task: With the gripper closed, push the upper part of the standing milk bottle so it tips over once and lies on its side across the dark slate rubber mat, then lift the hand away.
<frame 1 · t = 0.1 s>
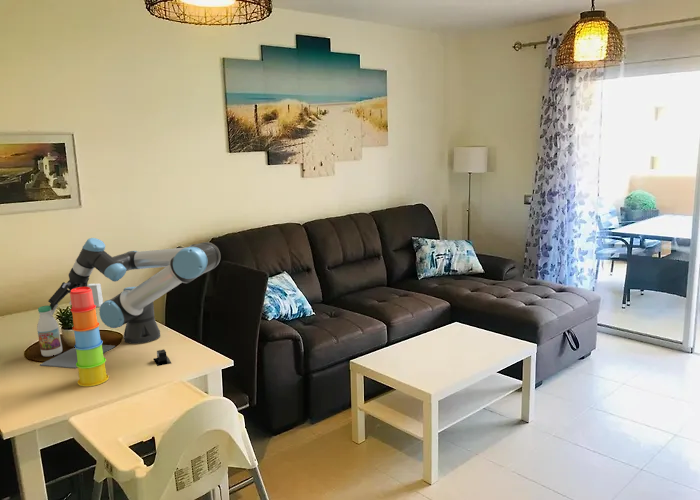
hand: (60, 309, 239), 15 cm above the table, tool tilted 35°, fingers open, 13 cm apart
skincare box: (96, 306, 301), on the table
milk bottle: (52, 353, 231), on the table
slate mat: (79, 355, 228), on the table
black block on base: (162, 362, 220), on the table
stacking cups: (93, 381, 202), on the table
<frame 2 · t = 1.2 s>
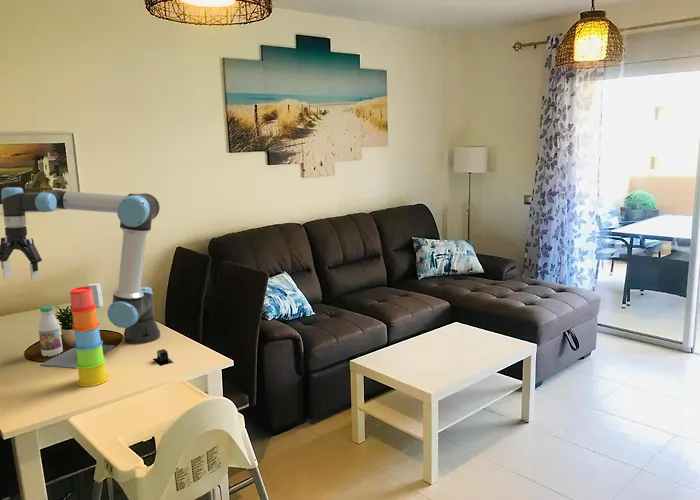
hand: (20, 278, 229), 31 cm above the table, tool pointing down, fingers open, 13 cm apart
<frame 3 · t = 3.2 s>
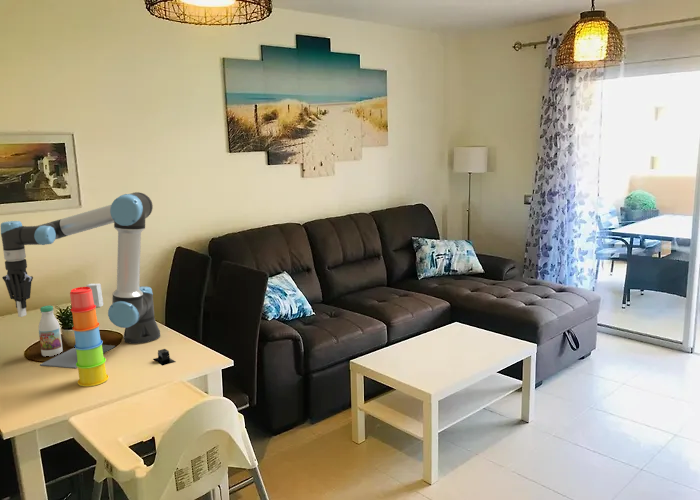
hand: (22, 315, 231), 16 cm above the table, tool pointing down, fingers closed
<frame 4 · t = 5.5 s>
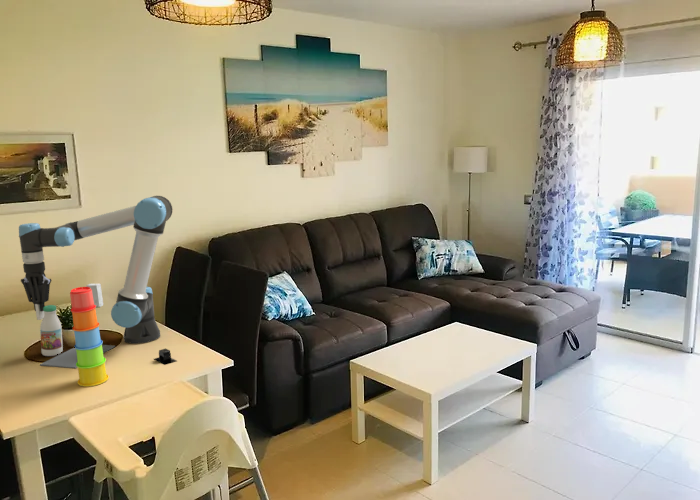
hand: (41, 318, 229), 15 cm above the table, tool pointing down, fingers closed
milk bottle: (52, 353, 231), on the table, touching gripper
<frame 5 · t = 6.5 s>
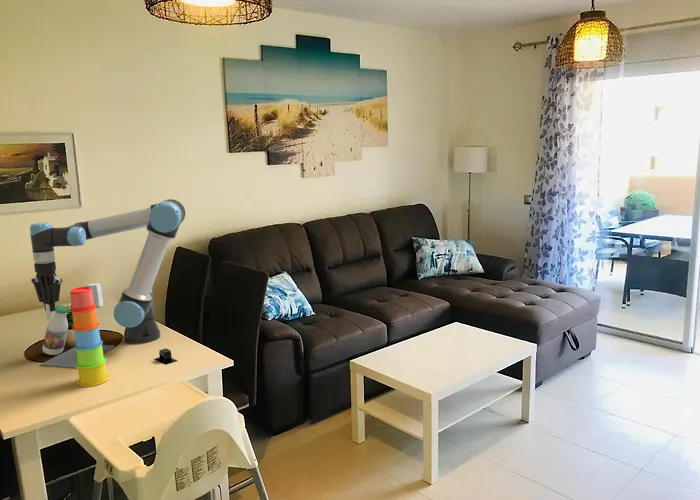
hand: (51, 318, 228), 15 cm above the table, tool pointing down, fingers closed
milk bottle: (52, 350, 231), point 1 cm above the table, touching gripper
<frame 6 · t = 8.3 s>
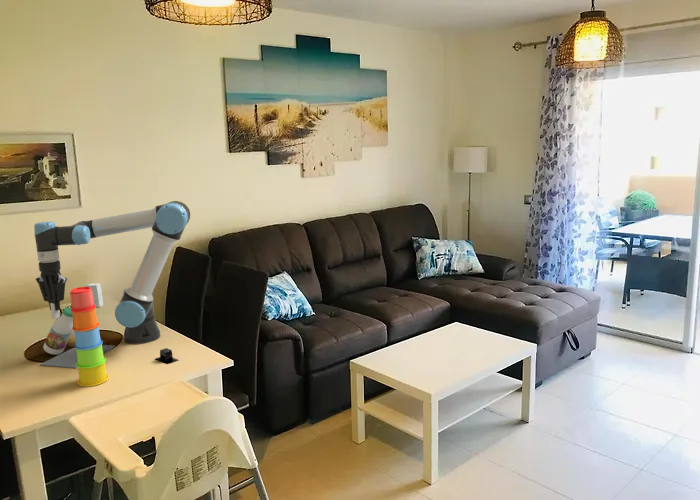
hand: (56, 317, 227), 16 cm above the table, tool pointing down, fingers closed
milk bottle: (52, 349, 230), point 2 cm above the table
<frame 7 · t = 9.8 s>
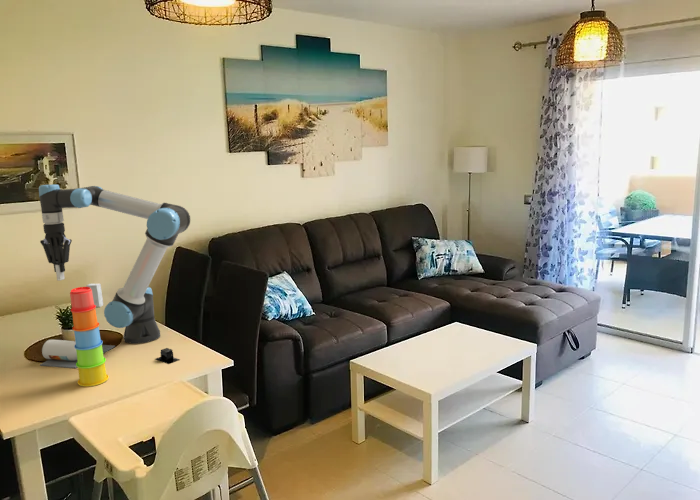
hand: (61, 279, 231), 30 cm above the table, tool pointing down, fingers closed
milk bottle: (47, 349, 223), point 4 cm above the table, touching slate mat
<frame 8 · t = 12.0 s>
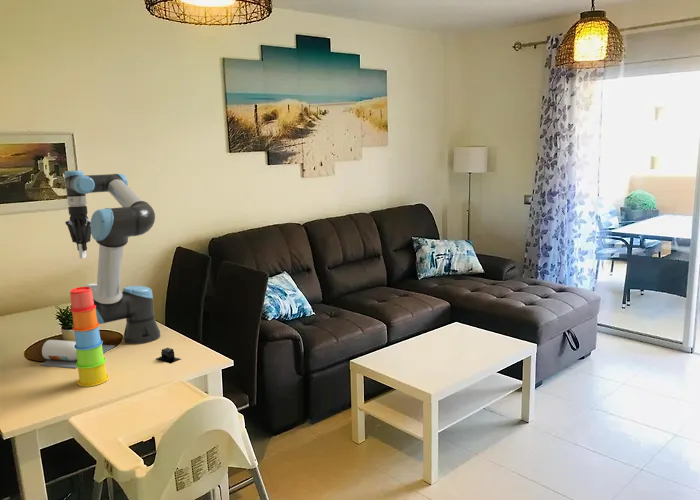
hand: (83, 257, 253), 34 cm above the table, tool pointing down, fingers closed
at the end: milk bottle tilted 91°; milk bottle touching slate mat; milk bottle 11.0 cm from the slate mat (horizontally) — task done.
